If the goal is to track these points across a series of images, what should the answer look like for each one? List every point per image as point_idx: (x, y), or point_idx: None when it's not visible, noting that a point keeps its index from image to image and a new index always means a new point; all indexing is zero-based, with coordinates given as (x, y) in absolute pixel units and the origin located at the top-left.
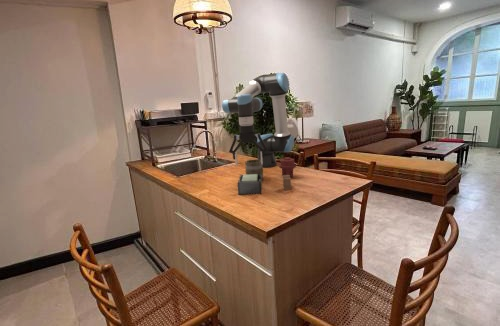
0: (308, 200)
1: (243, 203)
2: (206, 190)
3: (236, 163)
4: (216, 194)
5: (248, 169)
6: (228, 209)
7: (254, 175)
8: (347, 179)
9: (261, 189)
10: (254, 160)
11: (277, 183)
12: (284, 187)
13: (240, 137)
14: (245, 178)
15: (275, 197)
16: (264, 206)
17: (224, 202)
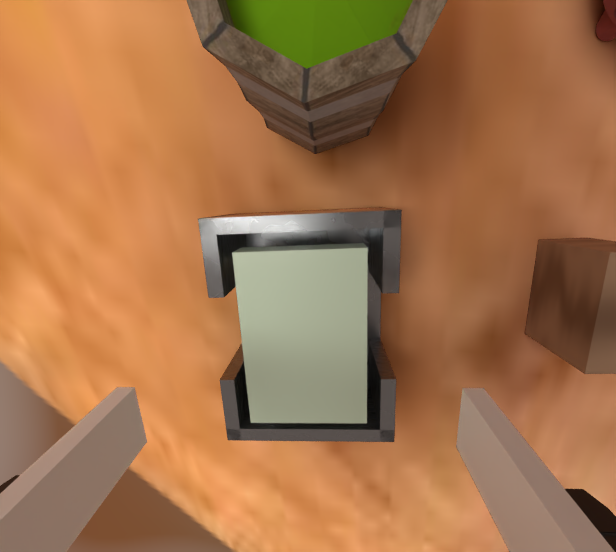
0: (611, 491)
1: (296, 490)
2: (36, 292)
3: (120, 467)
4: (125, 365)
5: (258, 94)
6: (243, 537)
7: (340, 292)
8: None
9: (379, 311)
10: None
11: (503, 182)
12: (537, 341)
13: None
14: (271, 370)
15: (453, 439)
16: (392, 528)
17: (204, 471)
